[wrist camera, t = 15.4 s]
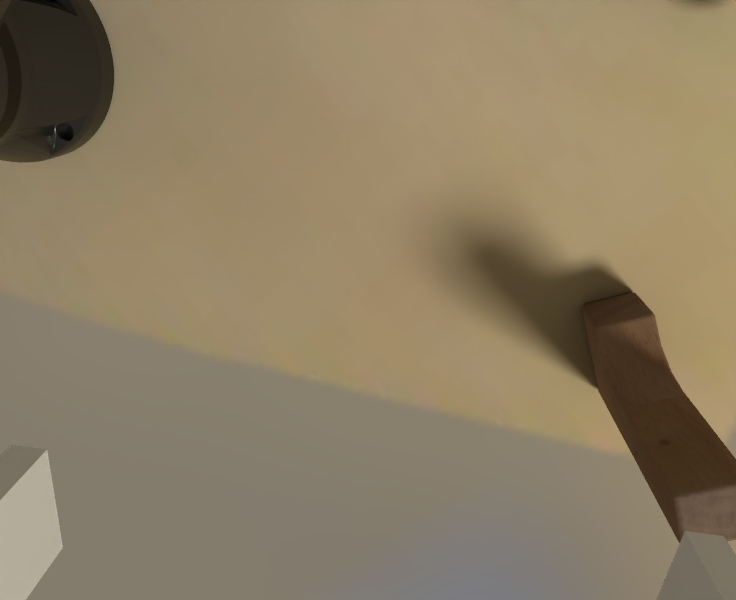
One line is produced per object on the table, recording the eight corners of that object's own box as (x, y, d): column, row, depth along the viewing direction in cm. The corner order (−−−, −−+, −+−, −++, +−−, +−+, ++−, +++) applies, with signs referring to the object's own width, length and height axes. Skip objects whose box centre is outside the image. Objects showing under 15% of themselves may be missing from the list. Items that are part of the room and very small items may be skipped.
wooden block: (579, 303, 49) (662, 434, 32) (634, 289, 48) (749, 416, 32) (598, 392, 52) (682, 551, 36) (650, 380, 51) (761, 538, 35)
